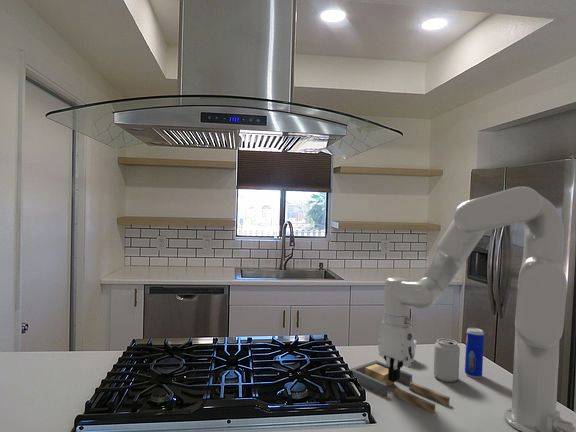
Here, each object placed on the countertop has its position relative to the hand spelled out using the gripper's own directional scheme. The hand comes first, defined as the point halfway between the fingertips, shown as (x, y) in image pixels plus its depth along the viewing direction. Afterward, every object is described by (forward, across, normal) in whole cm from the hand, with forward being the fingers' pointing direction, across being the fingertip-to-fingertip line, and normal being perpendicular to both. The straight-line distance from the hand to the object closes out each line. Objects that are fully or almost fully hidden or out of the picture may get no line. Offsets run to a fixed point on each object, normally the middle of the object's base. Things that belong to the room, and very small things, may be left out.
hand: (393, 380), depth 119 cm
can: (+2, -5, -20) cm, 21 cm away
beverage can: (+2, -9, -30) cm, 32 cm away
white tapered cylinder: (+2, +12, -23) cm, 26 cm away
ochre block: (+3, +5, 0) cm, 6 cm away
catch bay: (+2, +5, 0) cm, 5 cm away
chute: (+2, -9, 0) cm, 10 cm away
